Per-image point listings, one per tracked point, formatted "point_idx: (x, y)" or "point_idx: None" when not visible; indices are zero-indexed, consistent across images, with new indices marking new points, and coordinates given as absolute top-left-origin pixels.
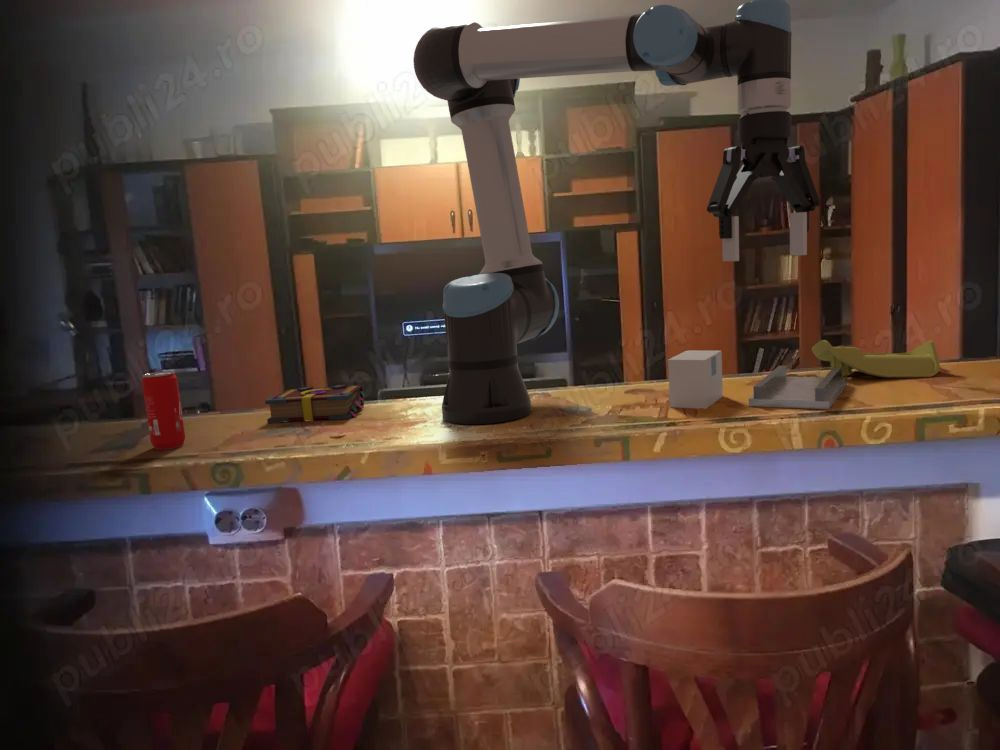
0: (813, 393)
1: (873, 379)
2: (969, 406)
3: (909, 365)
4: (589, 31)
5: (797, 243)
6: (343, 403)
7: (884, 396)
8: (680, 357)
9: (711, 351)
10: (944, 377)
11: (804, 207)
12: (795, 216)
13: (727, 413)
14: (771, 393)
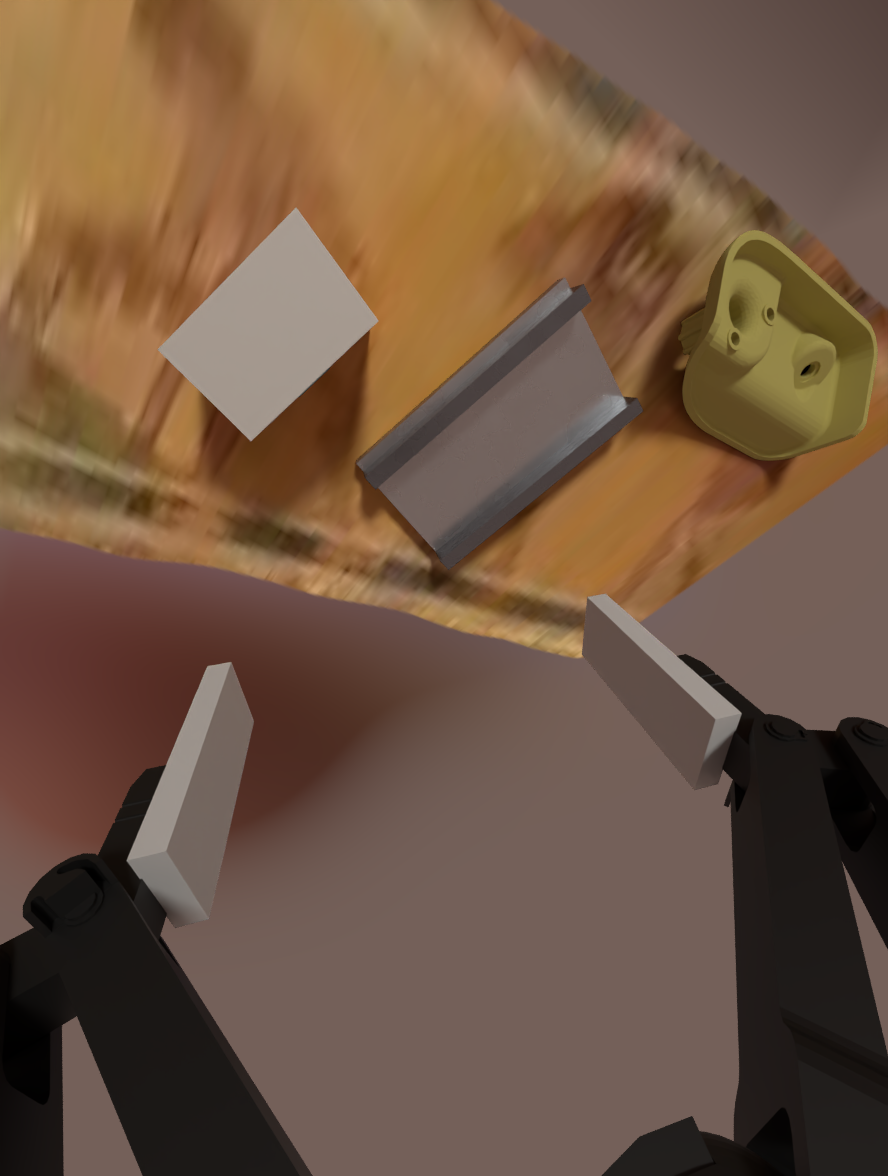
0: (478, 499)
1: None
2: None
3: (763, 432)
4: None
5: (609, 657)
6: None
7: (577, 533)
8: (209, 342)
9: (346, 310)
10: (760, 474)
11: (732, 801)
12: (690, 736)
13: (286, 488)
14: (423, 449)
